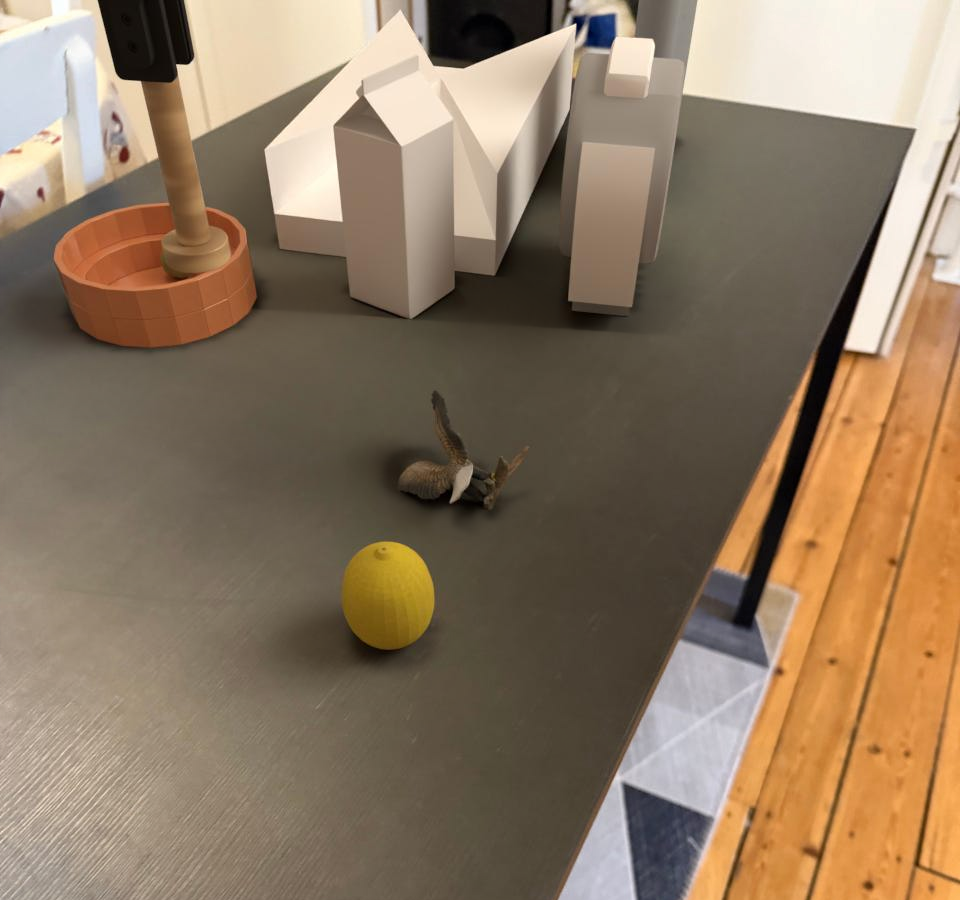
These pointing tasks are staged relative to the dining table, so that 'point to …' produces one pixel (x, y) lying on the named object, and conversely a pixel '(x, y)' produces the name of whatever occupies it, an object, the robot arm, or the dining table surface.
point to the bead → (171, 271)
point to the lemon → (387, 595)
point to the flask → (667, 27)
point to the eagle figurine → (455, 467)
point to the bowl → (150, 280)
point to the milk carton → (397, 191)
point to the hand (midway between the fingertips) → (156, 67)
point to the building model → (476, 142)
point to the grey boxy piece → (617, 170)
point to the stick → (182, 185)
